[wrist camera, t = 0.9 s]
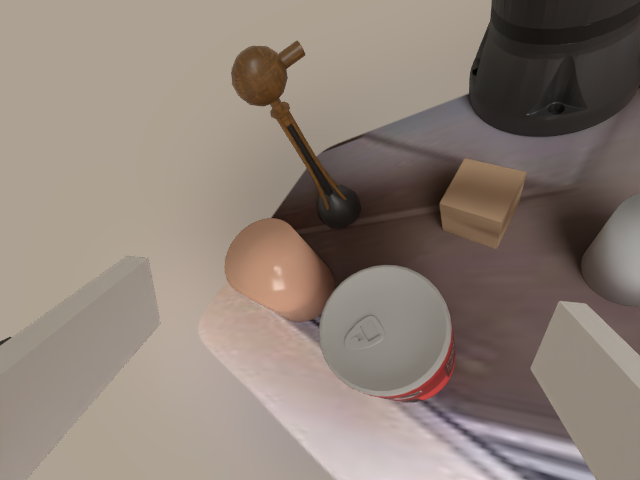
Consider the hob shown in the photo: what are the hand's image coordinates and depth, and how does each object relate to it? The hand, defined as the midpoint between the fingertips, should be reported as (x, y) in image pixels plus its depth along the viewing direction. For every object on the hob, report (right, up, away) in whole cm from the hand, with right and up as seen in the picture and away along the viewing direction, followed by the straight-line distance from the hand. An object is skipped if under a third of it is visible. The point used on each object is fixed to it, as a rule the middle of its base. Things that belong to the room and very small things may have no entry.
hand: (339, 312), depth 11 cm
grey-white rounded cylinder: (+23, 0, +15) cm, 27 cm away
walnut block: (+15, +5, +21) cm, 26 cm away
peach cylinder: (-2, -3, +24) cm, 24 cm away
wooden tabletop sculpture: (+2, +6, +27) cm, 28 cm away
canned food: (+7, -7, +18) cm, 21 cm away
